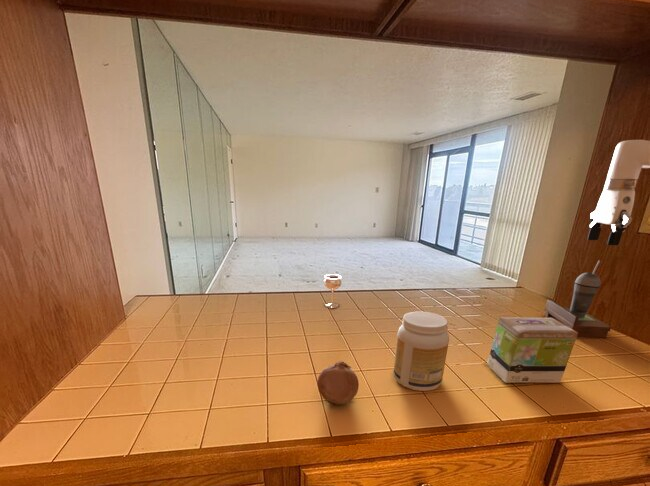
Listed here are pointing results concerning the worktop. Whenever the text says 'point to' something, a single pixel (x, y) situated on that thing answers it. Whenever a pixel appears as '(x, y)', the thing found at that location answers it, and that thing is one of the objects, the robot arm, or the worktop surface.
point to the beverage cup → (584, 292)
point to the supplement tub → (421, 351)
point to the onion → (338, 384)
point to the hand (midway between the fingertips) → (601, 242)
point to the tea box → (531, 349)
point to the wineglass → (332, 286)
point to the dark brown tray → (577, 321)
